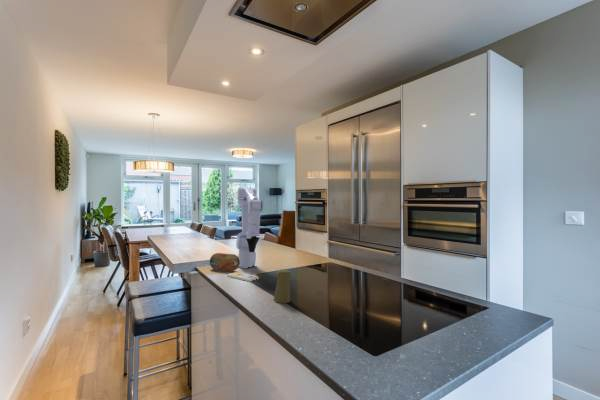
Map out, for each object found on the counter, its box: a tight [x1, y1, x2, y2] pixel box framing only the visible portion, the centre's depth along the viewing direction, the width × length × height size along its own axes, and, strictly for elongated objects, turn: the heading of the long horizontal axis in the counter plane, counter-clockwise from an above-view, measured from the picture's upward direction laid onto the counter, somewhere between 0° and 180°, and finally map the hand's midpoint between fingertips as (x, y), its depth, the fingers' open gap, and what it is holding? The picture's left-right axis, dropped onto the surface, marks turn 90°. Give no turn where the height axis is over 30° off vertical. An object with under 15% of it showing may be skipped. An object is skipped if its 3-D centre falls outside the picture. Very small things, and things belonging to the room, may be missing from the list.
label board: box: [226, 271, 260, 283], centre depth 137 cm, size 6×13×1 cm, turn 61°
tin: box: [209, 252, 240, 273], centre depth 149 cm, size 15×3×8 cm, turn 79°
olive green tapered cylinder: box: [273, 268, 292, 304], centre depth 108 cm, size 6×6×11 cm
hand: (251, 252), depth 146 cm, fingers closed
